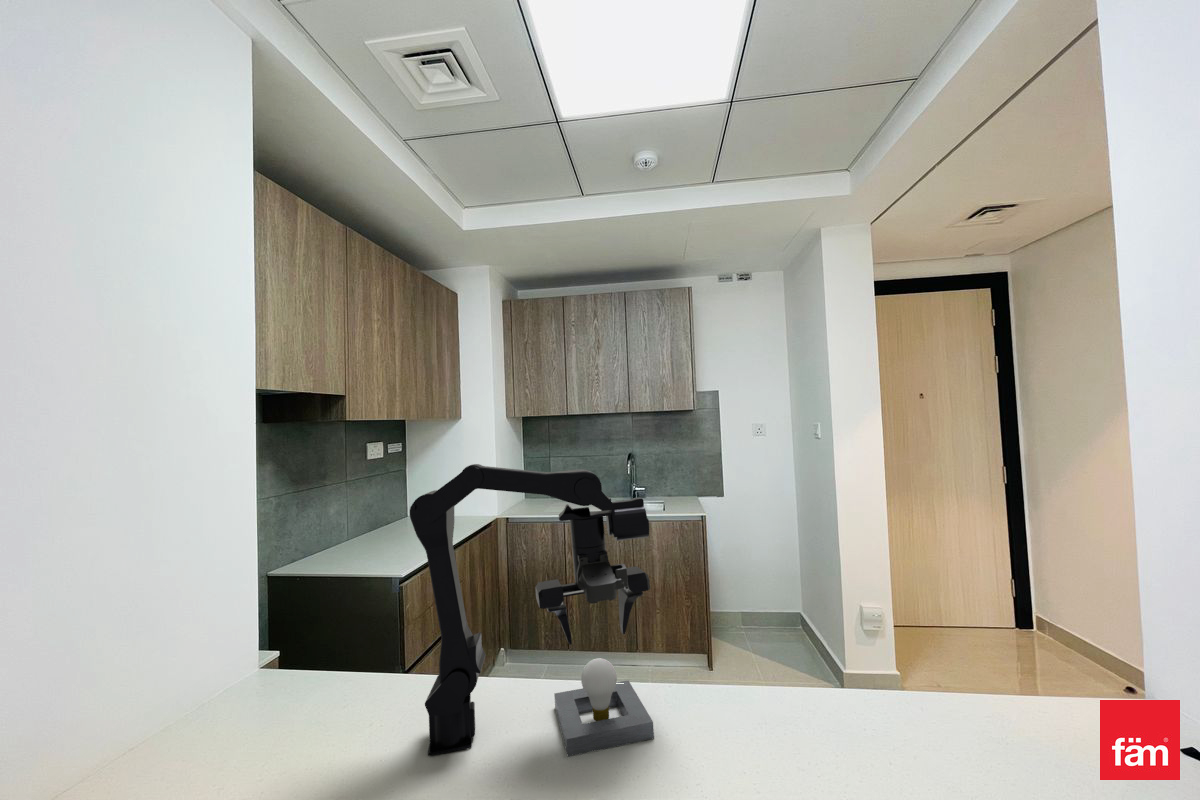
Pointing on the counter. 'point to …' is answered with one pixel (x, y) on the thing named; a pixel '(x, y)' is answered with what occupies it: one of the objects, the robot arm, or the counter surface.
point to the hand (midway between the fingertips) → (597, 638)
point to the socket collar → (602, 721)
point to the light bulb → (599, 686)
